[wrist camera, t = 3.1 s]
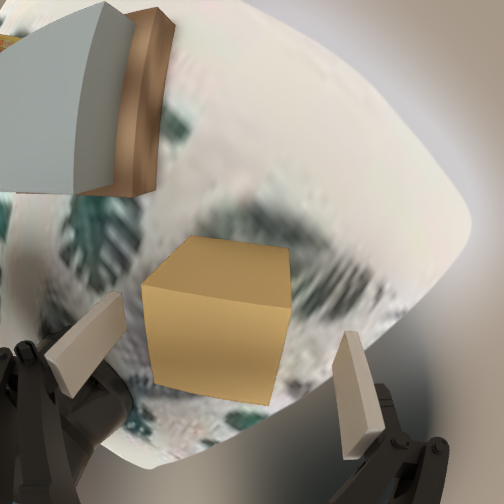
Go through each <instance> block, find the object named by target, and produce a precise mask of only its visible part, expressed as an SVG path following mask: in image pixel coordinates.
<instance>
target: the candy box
mask: <svg viewBox="0 0 504 504" xmlns="http://www.w3.org/2000/svg"><path fill="white" fill-rule="evenodd" d="M21 39H22V38H19V37H13V36H8V35H2V34H0V52H2V51H3V50H5V49H6V48H8V47H9V46H11V45H13V44H14V43H16V42H17V41H19V40H21Z"/></svg>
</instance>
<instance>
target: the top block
mask: <svg viewBox="0 0 504 504" xmlns="http://www.w3.org/2000/svg"><path fill="white" fill-rule="evenodd" d="M135 28H136V23H135V22H133V21H132V20H131V19H129V18H128V17H126V16H125V15H124V14H122V13H121V12H120V11H118V10H117V9H115V8H114V7H112V6H111V5H110V4H108V3H107V2H105V1H104V2H101V3H98V4H95V5H93V6H90V7H87V8H84V9H82V10H79V11H77V12H74V13H72V14H70V15H67V16H65V17H63V18H61V19H58V20H56V21H54V22H52V23H50V24H48V25H46V26H44V27H42V28H40V29H38V30H37V31H35V32H33V33H31V34H29V35H28V36H26V37H24V38H22V39H21V40H19V41H17V42H16V43H14V44H13V45H11V46H9V47H8V48H6V49H5V50H3V51H2V52H0V192H25V193H49V194H67V195H75V194H78V193H82V192H85V191H89V190H92V189H96V188H100V187H104V186H108V185H112V184H113V183H114V160H115V145H116V134H117V124H118V115H119V108H120V100H121V94H122V88H123V82H124V76H125V71H126V66H127V61H128V56H129V52H130V48H131V43H132V39H133V35H134V32H135Z"/></svg>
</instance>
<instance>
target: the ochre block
mask: <svg viewBox="0 0 504 504" xmlns="http://www.w3.org/2000/svg"><path fill="white" fill-rule="evenodd" d="M141 290H142V301H143V310H144V319H145V327H146V335H147V342H148V349H149V355H150V362H151V367H152V373H153V378H154V383H155V384H158V385H162V386H165V387H169V388H173V389H177V390H181V391H185V392H190V393H194V394H199V395H203V396H208V397H213V398H219V399H224V400H230V401H236V402H243V403H249V404H257V405H265V406H269V403H270V399H271V395H272V392H273V388H274V384H275V380H276V376H277V372H278V368H279V364H280V360H281V355H282V351H283V347H284V343H285V338H286V334H287V329H288V325H289V320H290V316H291V311H292V300H291V281H290V265H289V250H288V248H282V247H275V246H268V245H261V244H253V243H246V242H238V241H231V240H223V239H216V238H208V237H201V236H193V235H191V236H190V237H189V238H188V239H187V240H186V241H184V242H183V243H182V244H181V245H180V246H179V247H178V248H177V249H176V250H175V251H174V252H173V253H172V254H171V255H170V256H169V257H168V258H167V259H166V260H165V261H164V262H163V263H162V264H161V265H160V266H159V267H158V268H157V269H156V270H155V271H154V272H153V273H152V274H151V275H150V276H149V277H148V278H147V279H146V280H145V281H144V282H143V283H142V284H141Z"/></svg>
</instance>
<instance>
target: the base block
mask: <svg viewBox="0 0 504 504" xmlns="http://www.w3.org/2000/svg"><path fill="white" fill-rule="evenodd" d="M124 15H125V16H126V17H128V18H129V19H131V20H132V21H133V22H135V23H136V28H135V32H134V35H133V39H132V43H131V48H130V52H129V56H128V61H127V66H126V71H125V76H124V82H123V88H122V94H121V100H120V108H119V115H118V124H117V134H116V145H115V160H114V183H113V184H112V185H108V186H104V187H100V188H96V189H92V190H89V191H85V192H82V193H78V194H75V195H93V196H112V197H128V198H133V197H136V196H139V195H142V194H145V193H148V192H151V191H154V190H156V173H157V156H158V142H159V131H160V120H161V111H162V103H163V95H164V88H165V81H166V74H167V68H168V62H169V56H170V51H171V46H172V40H173V36H174V31H175V26H176V25H175V24H174V23H173V22H172V21H171V20H170V19H169V18H168V17H167V16H166V15H165V14H164V13H163V12H162V11H161V10H160V9H159V8H158V7H155V8H149V9H145V10H140V11H136V12H132V13H128V14H124ZM16 193H25V192H16ZM26 194H49V193H26Z"/></svg>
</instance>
